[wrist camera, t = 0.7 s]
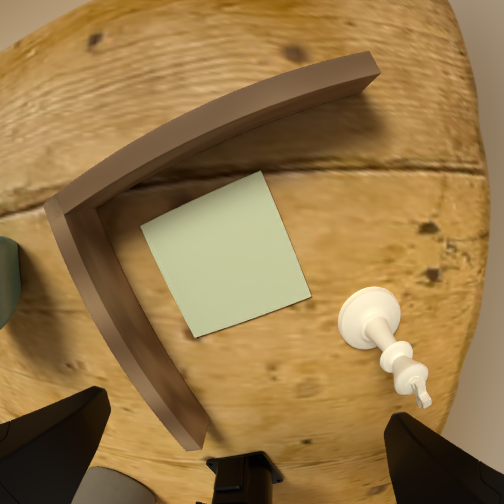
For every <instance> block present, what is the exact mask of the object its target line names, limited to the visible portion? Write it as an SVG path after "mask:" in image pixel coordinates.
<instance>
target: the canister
mask: <svg viewBox="0 0 504 504" xmlns="http://www.w3.org/2000/svg"><path fill="white" fill-rule="evenodd" d="M155 502H156V499H155V497H154V495H153V494H152V493H151V492H150V491H149V490H148V489H147V488H146V487H144V486H143V485H141V484H140V483H138V482H137V481H135V480H133V479H131V478H130V477H128V476H126V475H123V474H121V473H119V472H117V471H114V470H111V469H108V468H104V467H91V468H89V469H88V471H87V472H86V474H85V475H84V477H83V479H82V481H81V484H80V486H79V488H78V490H77V492H76V494H75V496H74V498H73V501H72V503H71V504H155Z"/></svg>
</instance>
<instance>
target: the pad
mask: <svg viewBox="0 0 504 504" xmlns="http://www.w3.org/2000/svg"><path fill="white" fill-rule="evenodd" d="M140 227H141V230H142V232H143V234H144V236H145V239H146V241H147V243H148V245H149V248H150V250H151V252H152V254H153V256H154V258H155V261H156V263H157V265H158V267H159V269H160V271H161V273H162V275H163V277H164V279H165V281H166V284H167V286H168V288H169V290H170V292H171V294H172V296H173V298H174V299H175V301H176V303H177V305H178V307H179V309H180V311H181V313H182V315H183V317H184V319H185V321H186V322H187V324H188V326H189V328H190V330H191V332H192V333H193V335H194V337H195V338H196V337H199V336H202V335H205V334H208V333H211V332H214V331H217V330H220V329H223V328H226V327H229V326H232V325H235V324H238V323H241V322H244V321H247V320H249V319H252V318H255V317H258V316H261V315H263V314H266V313H269V312H272V311H274V310H277V309H280V308H283V307H285V306H288V305H290V304H293V303H296V302H298V301H301V300H304V299H306V298H309V297H311V294H310V291H309V288H308V286H307V283H306V281H305V278H304V275H303V273H302V270H301V268H300V265H299V262H298V260H297V257H296V255H295V252H294V250H293V247H292V245H291V242H290V240H289V237H288V235H287V232H286V230H285V227H284V225H283V222H282V220H281V217H280V215H279V212H278V210H277V208H276V205H275V203H274V200H273V198H272V195H271V193H270V191H269V188H268V186H267V184H266V181H265V179H264V177H263V174H262V172H261V171H259V172H256V173H254V174H252V175H249V176H247V177H244V178H242V179H240V180H237V181H235V182H233V183H230V184H228V185H226V186H224V187H221V188H219V189H217V190H214V191H212V192H210V193H208V194H206V195H203V196H201V197H199V198H197V199H195V200H193V201H190V202H188V203H186V204H184V205H182V206H180V207H178V208H176V209H173V210H171V211H169V212H167V213H165V214H163V215H161V216H159V217H157V218H155V219H153V220H151V221H149V222H147V223H145V224H143V225H141V226H140Z"/></svg>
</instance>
